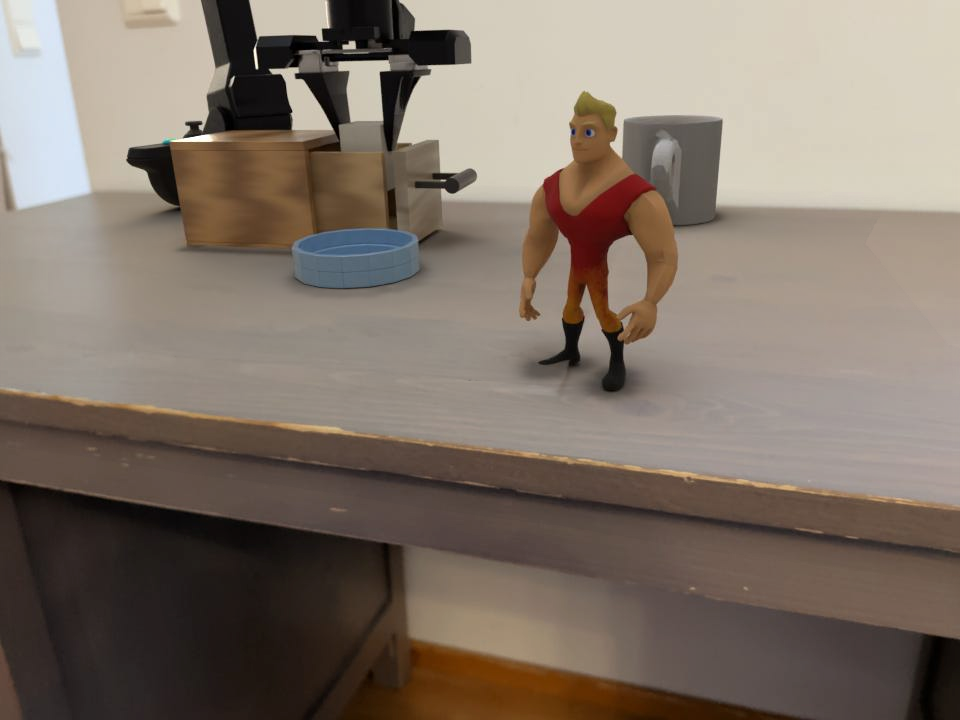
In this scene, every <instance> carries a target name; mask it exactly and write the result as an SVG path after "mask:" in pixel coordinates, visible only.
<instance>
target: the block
mask: <svg viewBox="0 0 960 720" xmlns="http://www.w3.org/2000/svg"><path fill="white" fill-rule="evenodd" d="M339 133H340V144H341V152H385V166H386V180H387V191H389V190H391V189H393V188H395V183H394V168H393V153H392V152H393V151H388V150H387V145H386V140H385V135H384V125H383V120H356V121H351V122H350V123H345V124H341V125H339ZM395 150H397V145H396V149H395ZM395 150H394V151H395Z"/></svg>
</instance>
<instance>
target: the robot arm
mask: <svg viewBox="0 0 960 720" xmlns="http://www.w3.org/2000/svg"><path fill="white" fill-rule="evenodd" d="M324 1H325V11H326V12H325V13H326V22H327V23H326V24H327V28H325V27H324V28H322V27H321V36H322V37H321V38H322V41H319V39H318V37H317V35H311V34H310V35H307V34H283V35H259V37H258V36H257V30H256V25H255V21H254V16H253V11H252V6H251V2H250V0H200V3H201V9H202V12H203V16H204V21H205V26H206V29H207V30H206V31H207V35H208V39H209V44H210V48H211V53H212V58H213V62H214V70H213V71H214V72H213V74H212V77H211V79H210V83H209V86H208V89H207V92H206V95H205V96H206V103H207V110H208V115H207V117H206V120H205V122H204V126H203V129H202V134H201V136H203V135H208V134H214V133H220V132H225V131H231V130H293V124H294V123H293V121H294V120H293V115H292V114H293V108H292V106H291V104H290V100H289V96H288V89H287V81H286V79H285V78H284V77H283V74H281V73H273V72H272V71H271V70H287V69H292V68H293V69H295V68H296V69H297V72H294V74H293V75H294V79H295V80H302V81H303V82H304V83H305V85H306V86H307V88H308V89H309V91H310V92H311V93H312V95H313V97H314V98H315V100H316V101H317V103H318V105H319V106H320V108H321V109H322V111H323V113H324V115H325V116H326V118H327V120H328V123H329V124H330V126H331V128H332V130H334V132H335V134H336V136H337V138H338V140H339V142H340V133H339V125H341V124H345V123H350V122H352V121H351V115H350V107H349V99H348V89H347V88H348V84H349V78H350V70H339V65H340V64H339V62H343V63H344V62H377V61H378V62H380V61H381V62H382V61H388V65H389V70H381V71H379V84H380V96H381V110H382V111H381V112H382V121H383V125H384V135H385V140H386V145H387V150H388V151H394V150H395V149H396V145H397V143H398V140H399V137H400V133H401V129H402V125H403V122H404V118H405V115H406V110H407V107H408V104H409V101H410V99H411V97H412V94H413V92H414V89H415V87H416V86H417V84H418V83H419V82H420V80H421V78H422V77H425V76H431V74H432V68H429V66H456V65H469V64H470V65H471V64H472V43H471V39H470V36H469V35H468V34H467V33H466V32H465V30H460V29H426V30H422V29H421V30H415V29H416V28H415V27H416V17H414V15H413V14H412V12H411V11H410V10H409V9H408V8H407V6H406V5H405V4H404V3H402V2H400V0H324ZM350 42H354V46H355V48H344V46H348V45H350Z"/></svg>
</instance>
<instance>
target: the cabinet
mask: <svg viewBox="0 0 960 720" xmlns="http://www.w3.org/2000/svg"><path fill="white" fill-rule="evenodd" d="M179 139H180V140H177V139H176V140H174V141H170V142H169V143H170V149H171V154H172V160H173V166H174V172H175V178H176V184H177V190H178V196H179V202H180V206H179V208H180V213H181V218H182V224H183V231H184V237H185V241H186V248H190V247H193V246H210V247H233V248H234V247H235V248H260V249H261V248H263V249H289V250H290V249H291V250H292V246H293V244H294V242H295V241H297V240H299V239H302V238H304V237H306V236H310V235H314V234H317V228H316V218H315V209H314V199H313V190H312V180H311V171H310V161H309V152H308V150H309V149H313V148H316V147H320V146H324V145H328V144H332V143H340V142H339V140H338V138H337V136H336V134H335V132H334V130H333V129H292V130H231V131H225V132H220V133H214V134H208V135H203V136H197V137H191V138H186V139H182V138H179Z"/></svg>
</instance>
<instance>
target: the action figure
mask: <svg viewBox="0 0 960 720" xmlns="http://www.w3.org/2000/svg"><path fill="white" fill-rule="evenodd" d="M573 113H574V114H573V116H572V119H571V121H569V122H568V127H569V129H570V137H569V143H570V147H571V152H572V158H573V160H572V161H571V162H570V163H569V164H567V165H566V166H565V167H562V168H560V169H558V170H556V171H555V172H554V173H552V174H551V175H549V176H547V177H545V178H544V179H543V183H542V184H541V185H540V186H539V188H537V190H536V191H535V192H534V195H533V197H532V199H531V204H530V209H529V217H528V218H529V219H528V221H529V227H528V229H527V230H526V233H525V236H524V237H523V238H524V239H523V242H522V245H521V246H522V247H521V252H522V253H521V260H522V271H523V277H524V278H523V281H522V283H521V287H520V301H519V308H518V312H519V318H521V319H524V318H525V320H526V321H527V322H530V321H531V319H533V320H534V321H536V320H537V319H538V317H541V313H540V312H539V311H538V310H537V309H535V308H534V306H533V305H532V303H531V302H532V300H533V299H534V298H533V297H534V294H535V291H536V288H537V281H536V278H537V277H538V275H539V273H540V272H541V270H542V269H543V268H544V267H545V265H546V264H547V262H548V261H549V259H550V258H551V256H552V254H553V252H554V250H555V248H556V245H557V243H558V241H559V234H560V233H561V235H562V236H563V237H564V238H565V239H566V240H567V242H568V244H569V247H570V269H569V275H568V283H567V290H566V291H567V292H566V294H567V298H566V303H565V305H564V308H563V310H562V317H561V323H562V324H561V325H562V329H563V330H562V331H563V333H564V339H565V341H564V342H565V344H564V349H562V350H561V351H560V352H559V353H557V354H555V355H553V356H551V357H549V358H546V359H542V360H540V361H538V362H537V363H538V365H541V366H549V365H554V364H559V363H561V362H566V361H569V362H568V364H578V363H580V362H581V353H580V351H579V341H580V337H581V334H582V331H583V327H584V324H585V319H586V315H585V313H584V310H583V308H582V307H581V304H582V301H583V297H584V294H585V291H586V288H587V292H588V295H589V297H590V301H591V304H592V307H593V311H594V313H595V317H596V319H597V320H598V322H599V325H600V327H601V330H600V331H601V333H602V334H603V335H604V337H605V339H606V340H607V342H608V346H609V351H610V358H609V362H608V370H607V372H606V374H605V375H604V376H603V378H602V379H601V386H602V388H603V389H605V390H607V391H608V390H609V391H616V390H619V389H620V388H621V387H622V386H623V385H624V383H625V381H626V375H627V370H626V364H625V360H624V349H625V348H624V347H625V345H626V346H628V345H630V344H631V343H635V342H637V341H639V340H642V339H646V338H647V337H649V336H650V335H651V334H652V333H653V331H654V330H655V328H656V325H657V319H658V305H657V304H658V303H659V302H660V301H662V299H663V298H664V297H665V295H666V294H667V293H668V291H669V290H670V288H671V287H672V285H673V283H674V280H675V277H676V275H677V271H678V266H679V265H678V263H679V253H678V245H677V241H676V237H675V229H674V225H673V224H672V221H671V217H670V214H669V211H668V208H667V206H666V204H665V202H664V199H663V197H662V196H661V195H660V194H659V193H658V192H657V190H656V187H654V186H653V185H651V184H650V183H649V182H647V181H646V180H644V179H643V178H642V177H640V176H639V175H638V174H635V173H634V172H633V171H632V170H631V169H630V168H629V167H628V165H627V164H626V163H625V161H624V160H623V159H622V156H620V155H619V154H618V153H617V152H616V151H615V150H614V149H613V147H612V146H611V143H614V142H616V138H617V135H618V132H619V131H618V130H619V129H618V127H617V126H615V121H616V117H617V113H618V112H617V110H616V107H615V106H614V105H613V104H612V103H609V102H607V101H605V100H601V99H598V98H596V97H594V96H593V95H592V94H591V93H590V92H589V91H586V90H583V91H582V92H581V93H580V94H579V96H578V98H577V99H576V103H575V104H574V106H573ZM559 232H560V233H559ZM628 236H633V238H634V240H635V241H636V242H637V244H638V246H639V247H640V249H641V250H642V252H643V254H644V258H645V261H646V275H647V276H646V292H645V296H644V298H643V299H642V300H640V301H637V302H634V303H632V304H630V305H627V306H626V307H624V308H623V309H622V310H621V311H620V312H619V313H618V314H617V313H616V312H614V311H613V310H611V309H610V305H609V278H608V277H609V273H610V270H609V263H608V255H609V254H608V253H609V250H610V247H611V246H612V245H613V244H614V243H615V242H616V241H618V240H620V239H622V238H625V237H628ZM629 315H631V316H630V318H629V321H628V323H627V325H626V326H625V328H624V324H623V321H622V320H624V319H626V318H627V317H628V316H629Z"/></svg>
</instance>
